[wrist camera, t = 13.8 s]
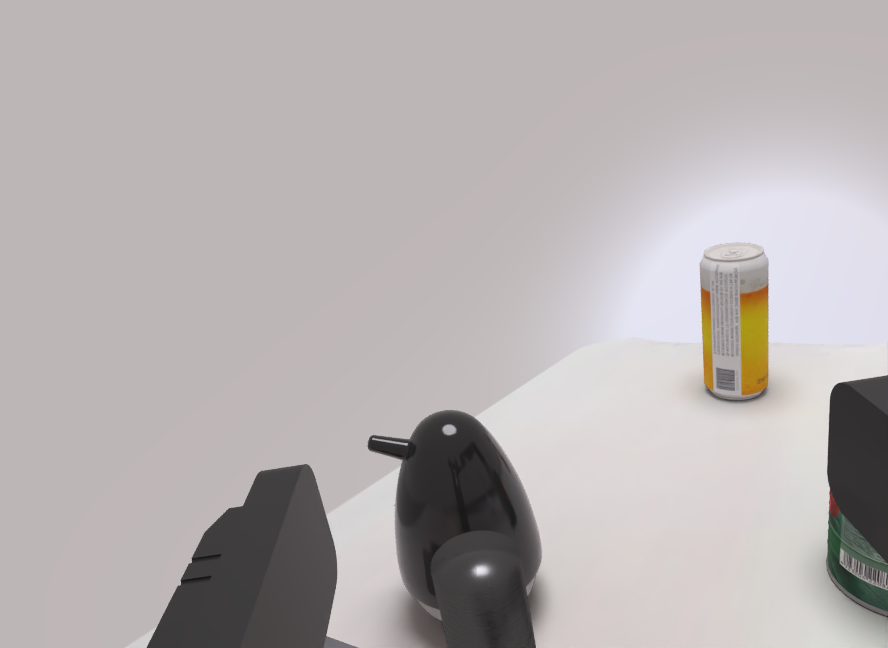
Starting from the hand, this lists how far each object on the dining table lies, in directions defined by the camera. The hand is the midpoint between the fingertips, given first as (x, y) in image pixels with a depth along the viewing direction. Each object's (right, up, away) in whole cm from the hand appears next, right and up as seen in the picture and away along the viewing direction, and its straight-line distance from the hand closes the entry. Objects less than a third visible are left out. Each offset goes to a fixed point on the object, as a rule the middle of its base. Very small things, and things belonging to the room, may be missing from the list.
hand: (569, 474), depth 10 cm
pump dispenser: (+1, -18, +39) cm, 43 cm away
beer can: (+29, -5, +59) cm, 66 cm away
